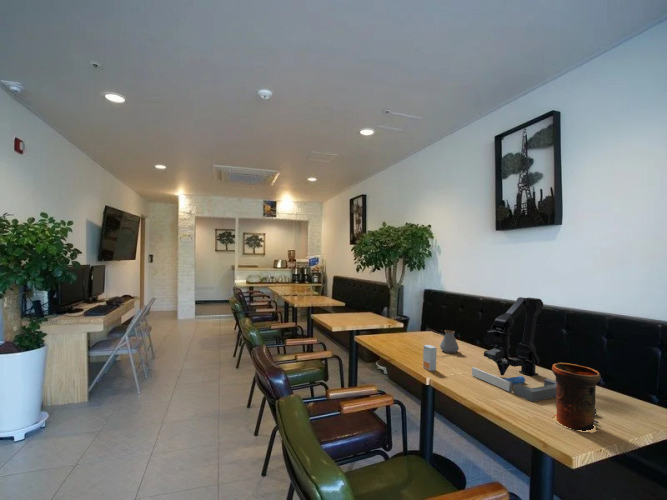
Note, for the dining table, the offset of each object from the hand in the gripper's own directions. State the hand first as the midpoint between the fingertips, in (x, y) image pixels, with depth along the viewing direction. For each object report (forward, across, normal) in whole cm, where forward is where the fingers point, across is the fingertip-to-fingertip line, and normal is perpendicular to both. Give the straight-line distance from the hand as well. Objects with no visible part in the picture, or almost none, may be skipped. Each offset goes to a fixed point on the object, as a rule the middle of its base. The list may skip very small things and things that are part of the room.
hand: (502, 375), depth 169 cm
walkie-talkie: (+2, +39, -2) cm, 39 cm away
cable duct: (+2, +20, 0) cm, 20 cm away
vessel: (+2, +44, -14) cm, 46 cm away
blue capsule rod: (+2, +7, 0) cm, 7 cm away
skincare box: (+2, -23, -26) cm, 35 cm away
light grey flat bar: (+1, +4, -12) cm, 12 cm away
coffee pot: (+2, -49, +4) cm, 49 cm away
